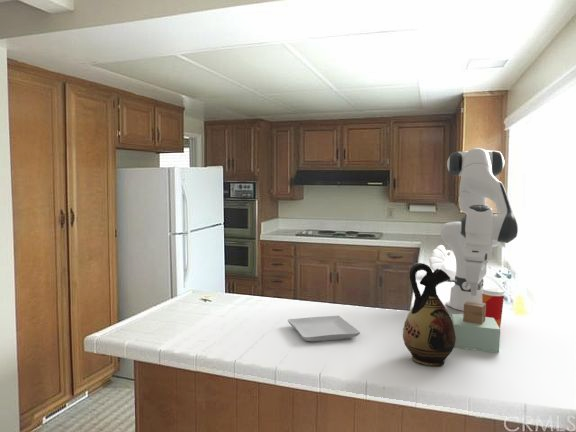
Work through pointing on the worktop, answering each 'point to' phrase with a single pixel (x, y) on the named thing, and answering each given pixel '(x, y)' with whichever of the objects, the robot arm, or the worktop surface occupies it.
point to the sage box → (476, 334)
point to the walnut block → (474, 312)
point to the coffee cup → (493, 303)
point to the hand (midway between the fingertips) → (476, 292)
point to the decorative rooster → (443, 261)
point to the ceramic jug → (428, 320)
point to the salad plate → (323, 328)
